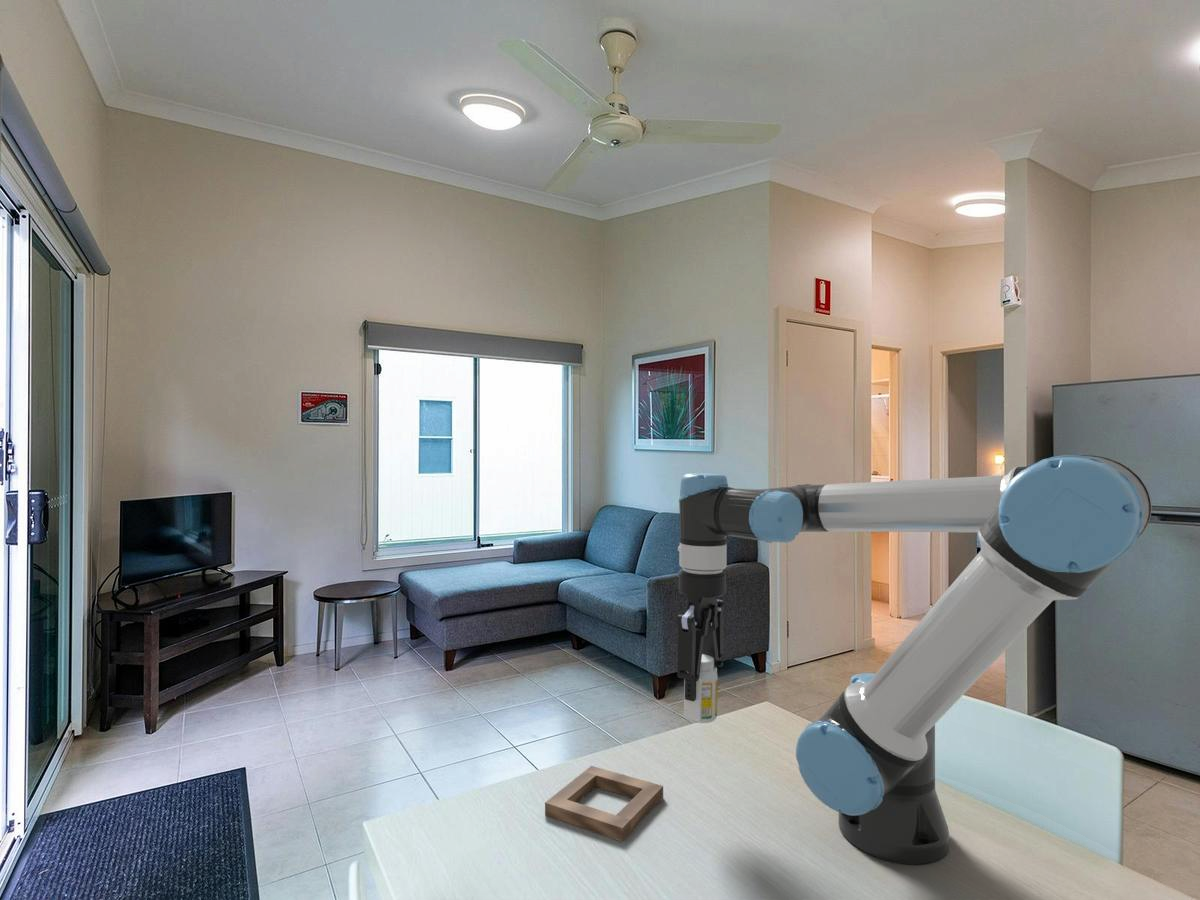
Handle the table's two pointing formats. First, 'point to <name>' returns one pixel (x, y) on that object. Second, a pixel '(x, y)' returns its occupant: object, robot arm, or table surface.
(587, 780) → the holder frame
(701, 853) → the table surface
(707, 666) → the supplement bottle
